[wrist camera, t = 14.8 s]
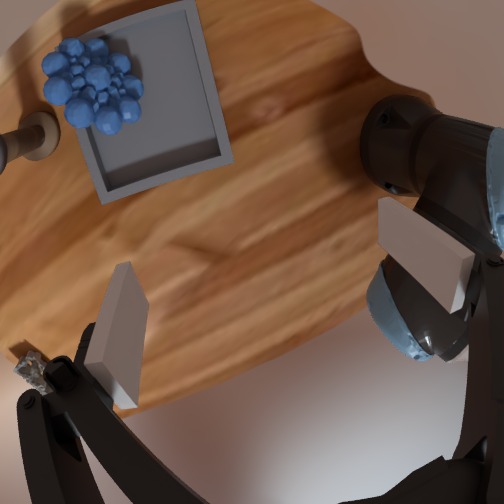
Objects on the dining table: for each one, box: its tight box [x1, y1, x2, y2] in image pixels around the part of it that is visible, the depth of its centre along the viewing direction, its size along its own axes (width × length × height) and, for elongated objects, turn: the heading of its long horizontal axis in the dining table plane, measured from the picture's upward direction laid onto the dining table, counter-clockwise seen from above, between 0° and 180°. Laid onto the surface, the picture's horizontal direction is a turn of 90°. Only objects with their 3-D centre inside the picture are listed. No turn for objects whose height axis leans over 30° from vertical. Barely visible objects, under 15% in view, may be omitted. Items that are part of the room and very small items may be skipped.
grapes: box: [42, 37, 144, 135], centre depth 24 cm, size 12×7×12 cm
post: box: [0, 111, 60, 175], centre depth 22 cm, size 6×6×16 cm
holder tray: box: [55, 0, 234, 205], centre depth 29 cm, size 16×20×3 cm
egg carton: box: [13, 350, 53, 395], centre depth 44 cm, size 11×8×4 cm
